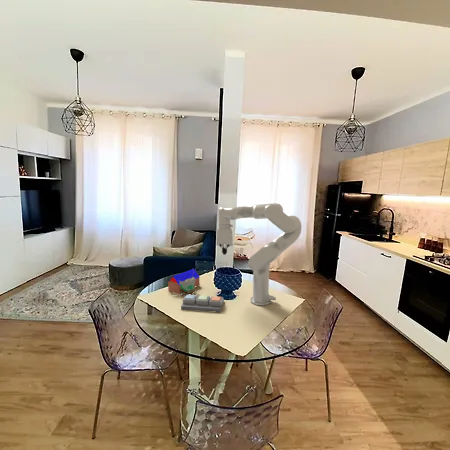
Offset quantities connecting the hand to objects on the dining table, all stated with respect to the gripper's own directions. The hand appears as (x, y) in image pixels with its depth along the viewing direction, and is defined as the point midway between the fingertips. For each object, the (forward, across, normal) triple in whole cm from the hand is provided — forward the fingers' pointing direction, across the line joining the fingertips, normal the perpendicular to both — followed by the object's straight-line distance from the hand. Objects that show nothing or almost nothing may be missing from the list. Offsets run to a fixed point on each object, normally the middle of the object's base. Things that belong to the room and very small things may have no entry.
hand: (224, 254), depth 166 cm
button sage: (+25, +10, +19) cm, 33 cm away
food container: (+27, +23, +4) cm, 36 cm away
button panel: (+27, +10, +19) cm, 35 cm away
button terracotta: (+25, +2, +19) cm, 31 cm away
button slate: (+25, +18, +19) cm, 36 cm away
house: (+28, +30, -5) cm, 41 cm away
